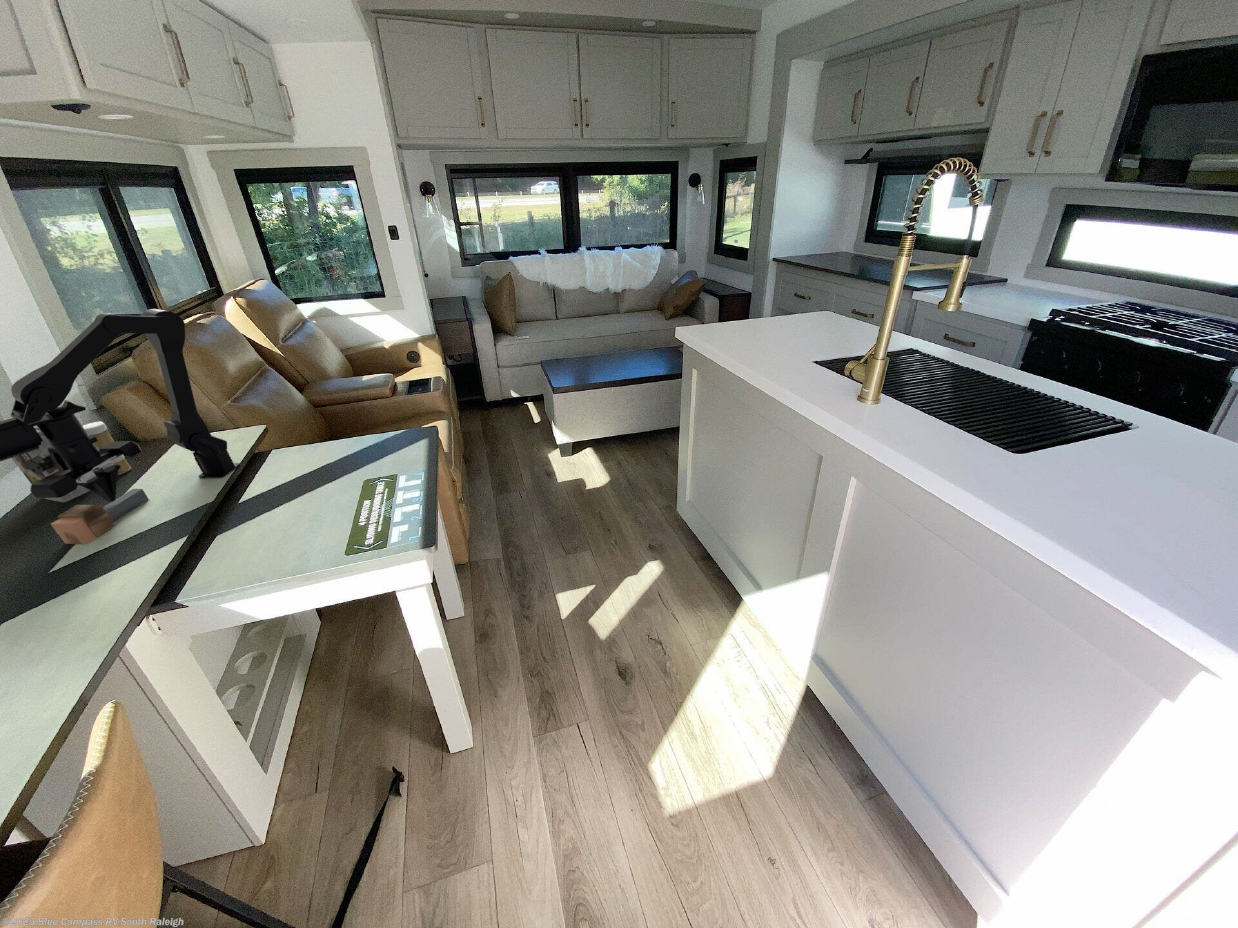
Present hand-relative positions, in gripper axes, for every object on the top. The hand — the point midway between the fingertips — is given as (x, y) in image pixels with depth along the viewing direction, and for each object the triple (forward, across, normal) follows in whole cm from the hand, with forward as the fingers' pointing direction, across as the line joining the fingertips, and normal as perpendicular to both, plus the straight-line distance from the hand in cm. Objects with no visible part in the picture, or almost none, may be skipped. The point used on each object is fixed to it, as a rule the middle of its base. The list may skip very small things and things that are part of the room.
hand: (112, 501), depth 113 cm
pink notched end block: (+4, +9, 0) cm, 10 cm away
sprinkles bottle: (+4, -18, -19) cm, 27 cm away
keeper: (+4, +6, 0) cm, 7 cm away
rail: (+4, +2, 0) cm, 4 cm away
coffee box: (+4, -9, -23) cm, 25 cm away
